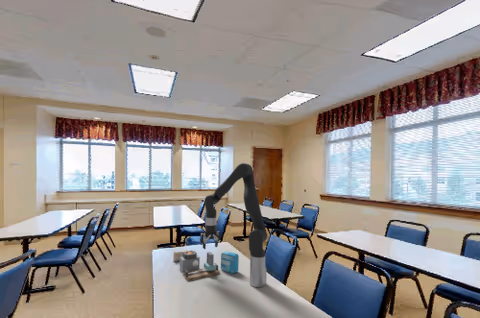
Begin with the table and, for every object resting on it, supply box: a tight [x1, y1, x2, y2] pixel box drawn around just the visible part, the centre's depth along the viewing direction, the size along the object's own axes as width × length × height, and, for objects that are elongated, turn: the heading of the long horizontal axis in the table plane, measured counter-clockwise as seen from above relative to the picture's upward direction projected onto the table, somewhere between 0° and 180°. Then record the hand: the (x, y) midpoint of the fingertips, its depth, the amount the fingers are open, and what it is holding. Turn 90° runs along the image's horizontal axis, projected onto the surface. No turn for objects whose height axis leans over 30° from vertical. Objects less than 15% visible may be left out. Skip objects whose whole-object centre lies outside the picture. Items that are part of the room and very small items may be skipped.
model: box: [173, 250, 189, 262], centre depth 178 cm, size 3×11×8 cm, turn 113°
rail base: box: [182, 262, 221, 282], centre depth 155 cm, size 22×10×4 cm, turn 121°
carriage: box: [203, 251, 217, 271], centre depth 158 cm, size 6×7×10 cm
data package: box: [220, 250, 240, 274], centre depth 161 cm, size 12×4×12 cm, turn 57°
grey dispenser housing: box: [179, 250, 201, 273], centre depth 164 cm, size 12×8×11 cm
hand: (210, 247), depth 159 cm, fingers open, 8 cm apart
